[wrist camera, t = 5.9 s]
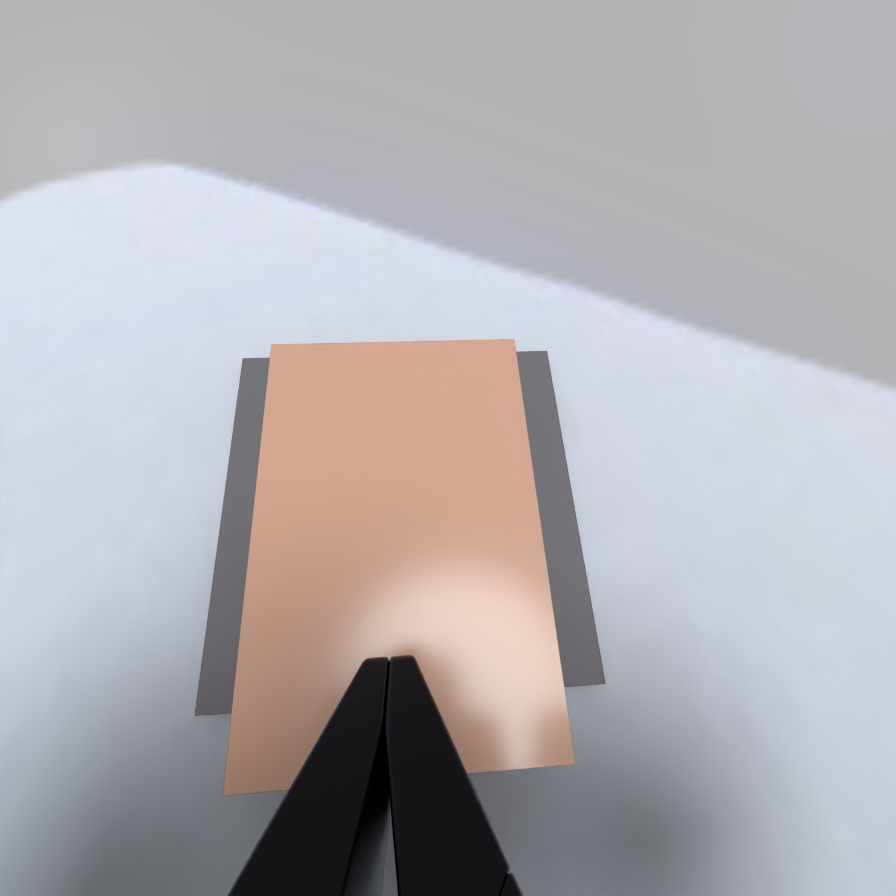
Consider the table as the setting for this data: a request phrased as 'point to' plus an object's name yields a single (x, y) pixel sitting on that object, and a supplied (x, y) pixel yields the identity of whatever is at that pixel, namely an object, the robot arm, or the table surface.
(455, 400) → the block
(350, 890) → the robot arm
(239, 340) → the table surface
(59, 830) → the table surface
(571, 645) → the mat
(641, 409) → the table surface
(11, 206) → the table surface
